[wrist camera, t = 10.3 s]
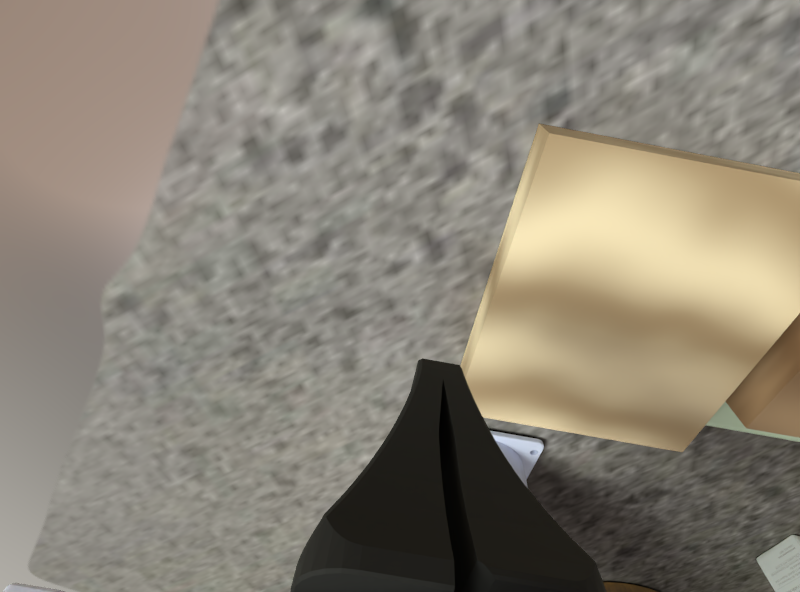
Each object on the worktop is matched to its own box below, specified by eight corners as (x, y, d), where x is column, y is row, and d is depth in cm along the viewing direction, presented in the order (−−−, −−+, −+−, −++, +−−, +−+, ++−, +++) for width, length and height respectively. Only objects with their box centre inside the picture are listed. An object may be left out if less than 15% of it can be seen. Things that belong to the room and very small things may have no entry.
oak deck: (667, 425, 27) (682, 452, 25) (453, 387, 27) (454, 412, 25) (853, 183, 18) (895, 199, 16) (538, 123, 18) (549, 133, 16)
